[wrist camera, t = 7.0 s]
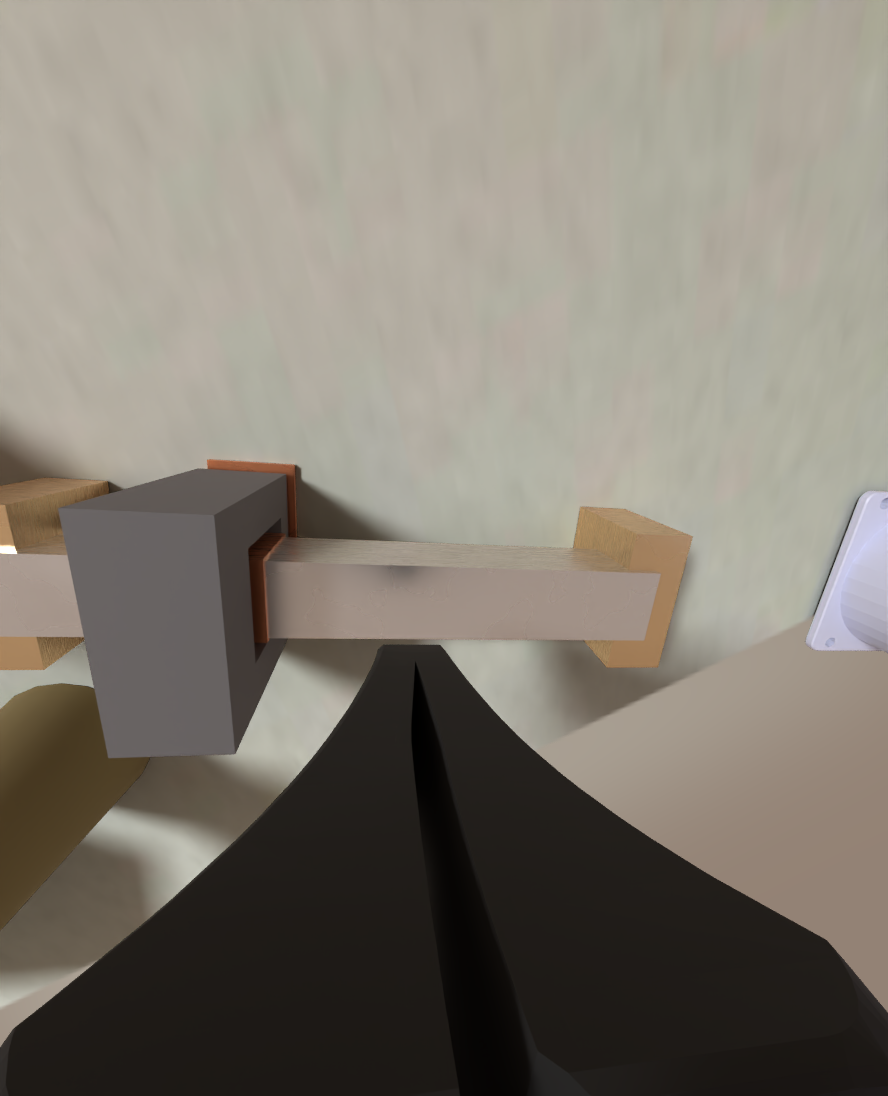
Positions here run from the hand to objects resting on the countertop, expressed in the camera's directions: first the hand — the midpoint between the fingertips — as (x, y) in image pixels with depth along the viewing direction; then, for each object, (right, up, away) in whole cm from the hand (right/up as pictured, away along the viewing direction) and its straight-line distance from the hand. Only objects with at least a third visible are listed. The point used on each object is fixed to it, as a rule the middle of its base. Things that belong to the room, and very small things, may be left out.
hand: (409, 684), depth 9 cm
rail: (-3, +3, +8) cm, 9 cm away
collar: (-7, +3, +7) cm, 10 cm away
